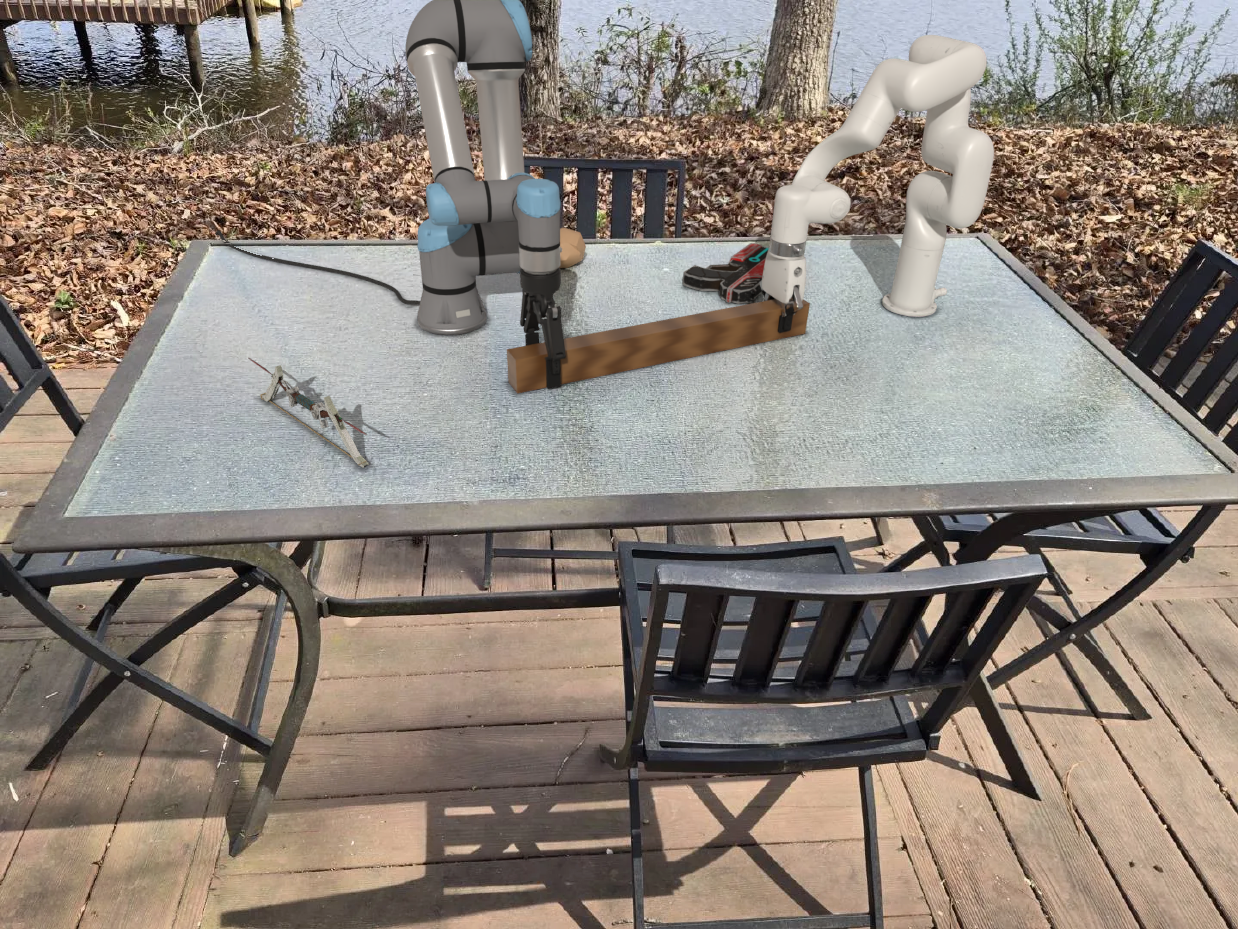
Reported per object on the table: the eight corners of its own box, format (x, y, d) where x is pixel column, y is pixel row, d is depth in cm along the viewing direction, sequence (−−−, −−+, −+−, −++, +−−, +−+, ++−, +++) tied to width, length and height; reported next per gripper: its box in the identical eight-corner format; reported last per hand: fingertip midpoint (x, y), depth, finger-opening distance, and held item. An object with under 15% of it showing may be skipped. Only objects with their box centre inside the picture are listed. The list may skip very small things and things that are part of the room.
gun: (678, 273, 212) (751, 292, 205) (732, 235, 234) (800, 251, 226) (676, 290, 215) (749, 310, 207) (730, 251, 237) (797, 268, 229)
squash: (587, 272, 224) (582, 240, 218) (510, 279, 226) (503, 248, 219) (588, 250, 232) (584, 219, 226) (514, 257, 233) (507, 226, 227)
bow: (378, 470, 147) (371, 419, 141) (369, 475, 146) (361, 423, 140) (261, 391, 168) (250, 343, 163) (252, 394, 167) (241, 347, 162)
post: (517, 393, 170) (515, 359, 166) (508, 382, 174) (506, 349, 170) (805, 333, 196) (810, 303, 192) (792, 324, 200) (796, 294, 196)
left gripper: (584, 286, 154) (583, 396, 167) (536, 245, 171) (539, 348, 184) (544, 292, 152) (547, 404, 164) (500, 250, 168) (505, 354, 181)
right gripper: (826, 257, 180) (813, 338, 190) (778, 231, 192) (768, 308, 203) (796, 262, 177) (784, 344, 187) (749, 236, 190) (741, 314, 200)
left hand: (543, 374), depth 174 cm, fingers open, 10 cm apart
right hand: (776, 325), depth 195 cm, fingers closed on post, 5 cm apart
